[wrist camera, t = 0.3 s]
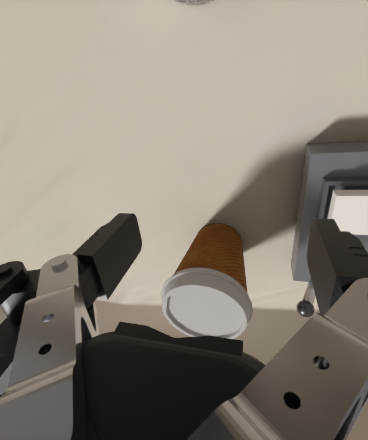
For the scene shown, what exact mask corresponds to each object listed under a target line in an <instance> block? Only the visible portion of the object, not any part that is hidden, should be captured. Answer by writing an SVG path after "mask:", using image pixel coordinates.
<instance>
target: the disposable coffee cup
mask: <svg viewBox="0 0 368 440" xmlns="http://www.w3.org/2000/svg"><path fill="white" fill-rule="evenodd" d="M161 298H162V310H163V313H164V315H165V317H166V319H167V320H168V321H169V323H171V324H172V325H173V326H174V327H175V328H176V329H178V330H179V331H181V332H182V333H184V334H186V335H188V336H190V337H198V336H215V337H222V338H228V339H234V338H236V337H238V336H239V335H240V334H241V333H242V332H243V331H244V330H245V328H246V325H247V323H249V321H250V319H251V317H252V312H253V310H252V303H251V301H250V299H249V296H248V294H247V286H246V277H245V268H244V258H243V248H242V240H241V237H240V235H239V234H238V233H237V232H236V231H235V230H234V229H233V228H231V227H229V226H227V225H223V224H209V225H207V226H205V227H203V228H202V229H201V230H200V231H199V232H198V234H197V236H196V238H195V239H194V241H193V243H192V244H191V246H190V248H189V250H188V251H187V253H186V255H185V256H184V258H183V260H182V261H181V263H180V265H179V266H178V268H177V270H176V272H175V273H174V275H173V276H172V277H171V278H169V279H168V280H167V281H166V282H165V284H164V286H163V288H162V292H161Z"/></svg>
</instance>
